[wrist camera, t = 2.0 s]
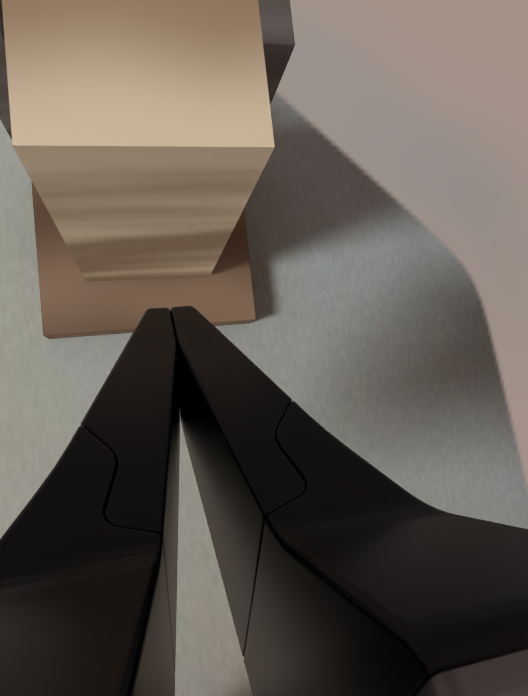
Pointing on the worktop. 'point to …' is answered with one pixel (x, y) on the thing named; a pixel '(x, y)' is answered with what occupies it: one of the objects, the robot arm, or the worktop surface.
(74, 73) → the curved wooden panel
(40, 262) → the wooden phone stand
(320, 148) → the worktop surface
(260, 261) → the worktop surface
